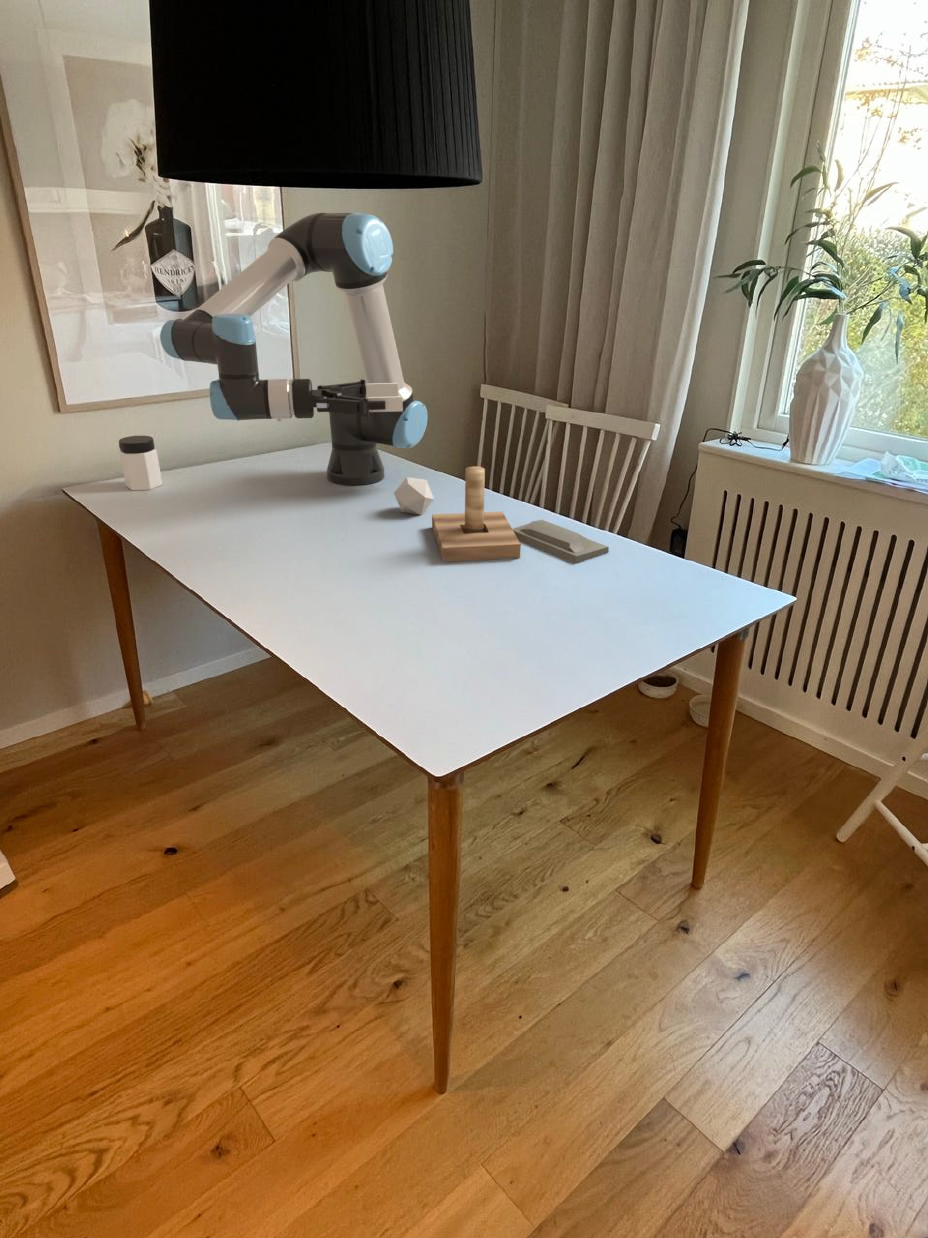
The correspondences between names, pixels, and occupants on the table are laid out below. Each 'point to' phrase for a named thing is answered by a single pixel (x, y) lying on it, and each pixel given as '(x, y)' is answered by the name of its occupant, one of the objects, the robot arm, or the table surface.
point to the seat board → (475, 538)
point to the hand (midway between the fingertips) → (400, 396)
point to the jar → (140, 463)
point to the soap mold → (559, 541)
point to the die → (414, 495)
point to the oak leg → (474, 499)
